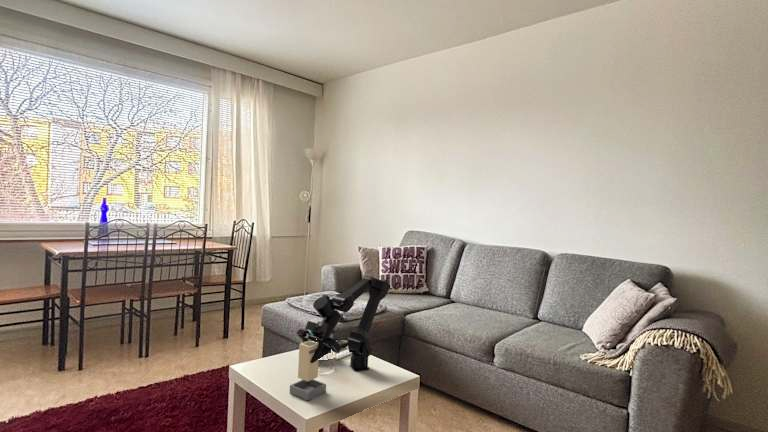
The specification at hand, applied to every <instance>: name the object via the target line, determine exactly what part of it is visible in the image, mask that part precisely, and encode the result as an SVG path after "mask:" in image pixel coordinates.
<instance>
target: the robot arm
mask: <svg viewBox="0 0 768 432" xmlns="http://www.w3.org/2000/svg"><path fill="white" fill-rule="evenodd" d="M366 291H368V294H369V297H368V300H367V302H366V305H365V308H364V309H363V313H362V316H361V318H360V321H359V323H358V326H357V328H356V329H355V330H351V331H350V332H349V336H348V338H347V348H348V351H349V353H351V356H350V363H349V367H350V368H352V370H353V371H354V372H359V371H367V370H369V369H370V367H369V365H368V364H369V357H370V356H371V355H372V353H373V348H372V347H371V345H370V344H369V343H370V335H369V332H370V330H371V328H372V327H371V326H372V324H373V321H374V319H375V316H376V314H377V311H378V308H379V305H380V303H381V301H382V300H383V299H384V298H385V297H386V296H387V295H388V293H389V291H390V284H389V282H388V281H387V280H385V279H384V280H383V279H377V278H376V277H374V276H370V275H364V276H363V277H362V279H360V280H358V282H357V283H356V284H354V285H352V286H351V287H350V288H349V289H347V290H346V291H343V292H340V293H338V294H336V295H334V296H333V297H332V298H330V296H329V295H327V294H323V295H322V296H320V297H318V298H317V299H315V300H314V302H313V303H312V307H313V308H314V309H315V311H316V313H317V314H319V316H320V317H321V318H322V320H321V321H320V320H319V321H317V322H313V321H311V320H308V321H307V323H306V325H305V328H299V329H298V330H297V332H296V335H297V336H298V338H299V339H300V340H301V341H302V343H304V342H307V341H314V342H317V343H318V349H317V350H316V352H315V354H314V355H313V357H312V359H311V361H310V362H311V363H314V362H315V361H317V360H318V359H320V358H321V357H323V356H324V355H326V354H328V353H331V349H332V351H333V352H332V353H336V354H339V353H340V352H341V349H342V346H341V344H340V343H339V342H338V341H337V339H336V338H334V337H333V338H330V335H331V334H333V335H335V333H336V331H335V329H336V327H337V325H338V324H339V322H344V320H345V319H344V314H343V313H348V312H349V311H350V310H351V309H352V308H353V307H354V304H355V301H356V300H357V299H358V298H360V297H361V296H362V295H364V293H366ZM340 312H342V313H340ZM309 331H311V333H312V334H313V335H311V334H310V332H309ZM316 339H317V340H316ZM318 361H319V360H318Z"/></svg>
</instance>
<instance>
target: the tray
mask: <svg viewBox="0 0 768 432" xmlns="http://www.w3.org/2000/svg"><path fill="white" fill-rule="evenodd" d="M326 392H327V384H326V383H324V382H321V381H319V380H316V379H313V380H310V381H308V382H307V381H305V380H303V379H300V380H298V381H297V382H295V383H292V384H290V385H289V394H290V395H292V396H294V397H298V398H299V399H302V400H304V401H306V402H310V401H311V400H314V399H316V398H317V397H319V396H322V395H323V394H325V393H326Z"/></svg>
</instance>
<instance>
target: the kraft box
mask: <svg viewBox="0 0 768 432" xmlns="http://www.w3.org/2000/svg"><path fill="white" fill-rule="evenodd" d="M317 349H318V343H315V342H312V341H307V342H304V343H303V342H301V343H299V349H298V368H297V370H298V371H297V378H299V379H300V380H305V381H307V382H308V381H310V380H313V379H314V380H316V379H317V378H318V375H319V371H318V370H319V360H317V361H315V362H314V363H311V362H310V361H311V359H312V357H313V355H314V354H315V352H316V350H317Z"/></svg>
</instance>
